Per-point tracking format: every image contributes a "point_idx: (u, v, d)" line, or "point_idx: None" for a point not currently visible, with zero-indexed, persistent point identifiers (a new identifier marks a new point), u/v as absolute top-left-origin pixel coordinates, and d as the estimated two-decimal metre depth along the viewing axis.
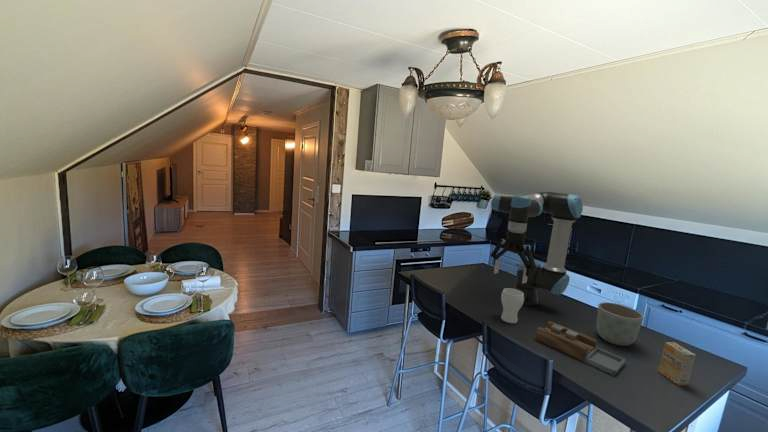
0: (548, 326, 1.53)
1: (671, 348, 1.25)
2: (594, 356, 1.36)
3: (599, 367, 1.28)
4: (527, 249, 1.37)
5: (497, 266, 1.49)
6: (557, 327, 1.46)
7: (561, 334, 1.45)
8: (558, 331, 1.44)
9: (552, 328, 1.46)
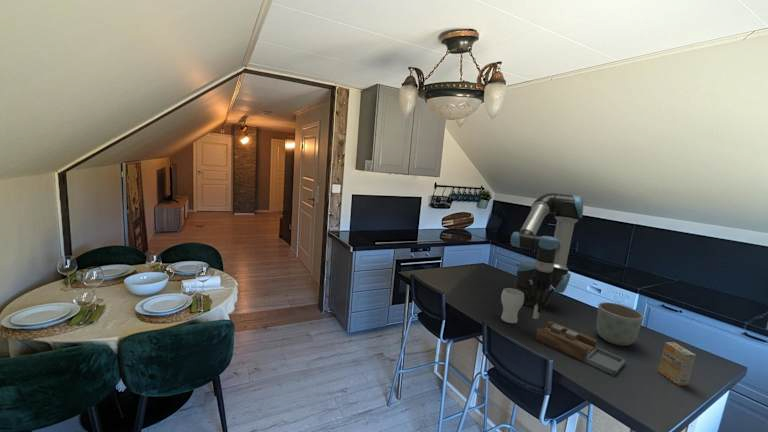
0: (548, 326, 1.53)
1: (671, 348, 1.25)
2: (594, 356, 1.36)
3: (599, 367, 1.28)
4: (551, 291, 1.46)
5: None
6: (557, 327, 1.46)
7: (561, 334, 1.45)
8: (558, 331, 1.44)
9: (552, 328, 1.46)
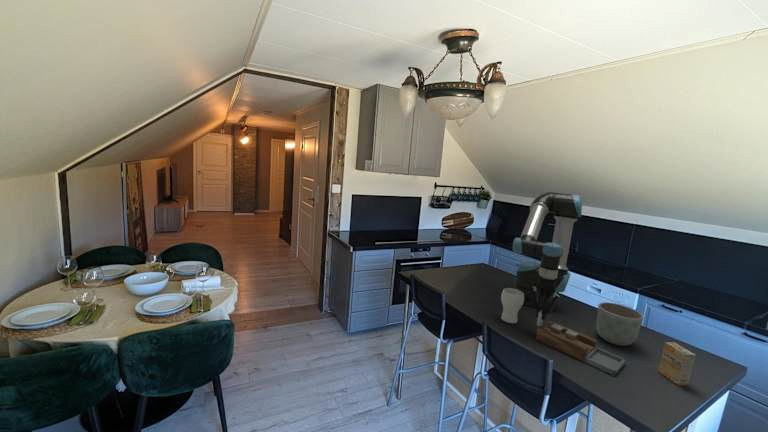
0: (548, 326, 1.53)
1: (671, 348, 1.25)
2: (594, 356, 1.36)
3: (599, 367, 1.28)
4: (555, 298, 1.45)
5: None
6: (557, 327, 1.46)
7: (561, 334, 1.45)
8: (558, 331, 1.44)
9: (552, 328, 1.46)
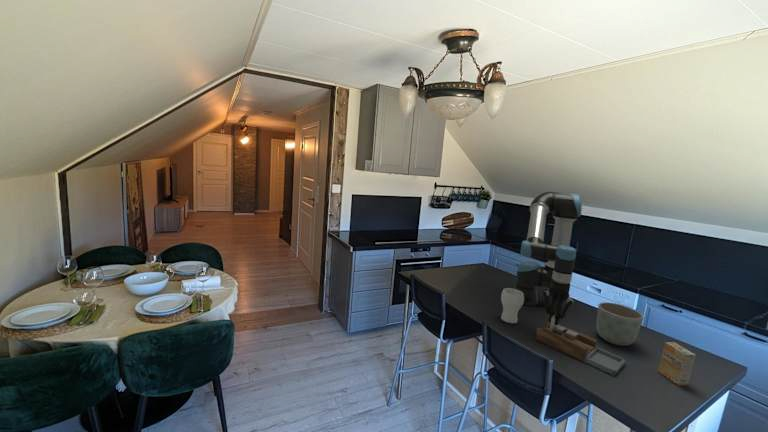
0: (548, 326, 1.53)
1: (671, 348, 1.25)
2: (594, 356, 1.36)
3: (599, 367, 1.28)
4: (569, 303, 1.41)
5: None
6: (559, 328, 1.45)
7: (563, 335, 1.45)
8: (560, 331, 1.44)
9: (554, 329, 1.45)
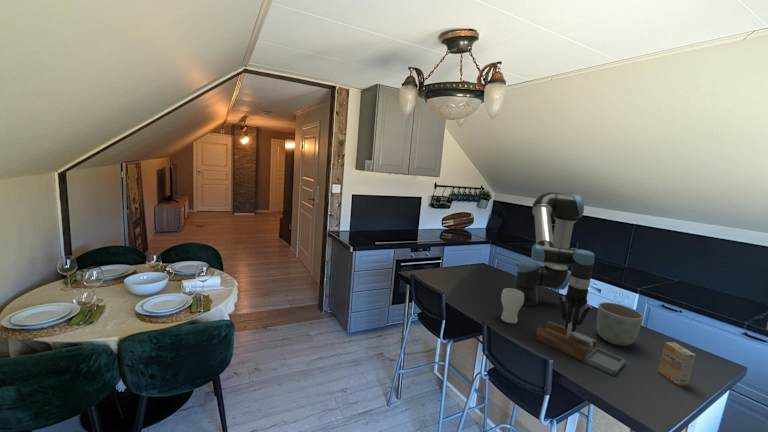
0: (548, 326, 1.53)
1: (671, 348, 1.25)
2: (594, 356, 1.36)
3: (599, 367, 1.28)
4: (588, 310, 1.35)
5: None
6: (576, 335, 1.40)
7: None
8: (577, 339, 1.38)
9: (571, 336, 1.40)
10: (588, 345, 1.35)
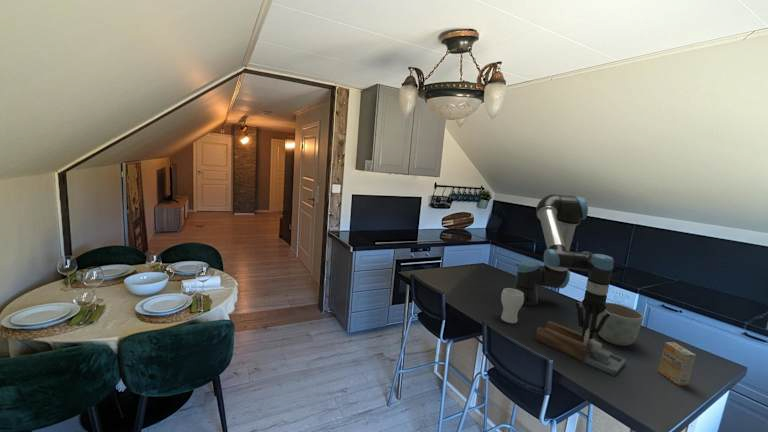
0: (548, 326, 1.53)
1: (671, 348, 1.25)
2: (594, 356, 1.36)
3: (599, 367, 1.28)
4: (606, 316, 1.30)
5: None
6: (595, 343, 1.34)
7: None
8: (596, 347, 1.33)
9: (589, 343, 1.35)
10: (602, 361, 1.32)
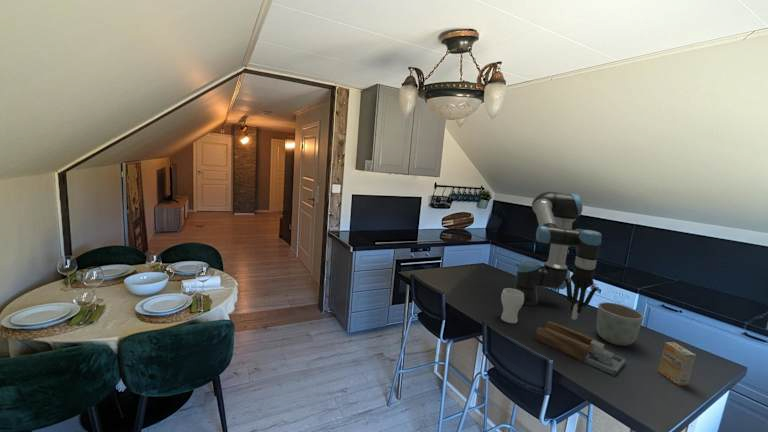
0: (548, 326, 1.53)
1: (671, 348, 1.25)
2: (594, 356, 1.36)
3: (599, 367, 1.28)
4: (594, 290, 1.34)
5: None
6: (597, 344, 1.34)
7: None
8: (598, 348, 1.33)
9: (591, 344, 1.34)
10: (604, 362, 1.31)
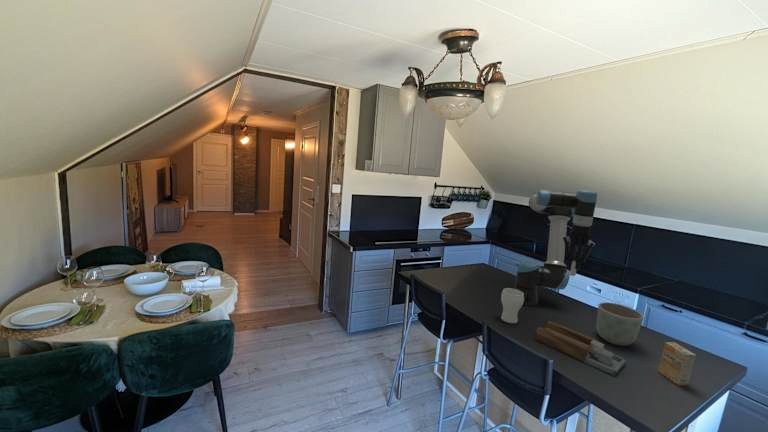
0: (548, 326, 1.53)
1: (671, 348, 1.25)
2: (594, 356, 1.36)
3: (599, 367, 1.28)
4: (591, 246, 1.42)
5: None
6: (597, 344, 1.34)
7: None
8: (598, 348, 1.33)
9: (591, 344, 1.34)
10: (604, 362, 1.31)
